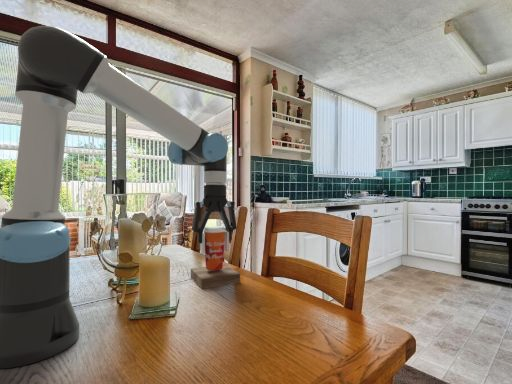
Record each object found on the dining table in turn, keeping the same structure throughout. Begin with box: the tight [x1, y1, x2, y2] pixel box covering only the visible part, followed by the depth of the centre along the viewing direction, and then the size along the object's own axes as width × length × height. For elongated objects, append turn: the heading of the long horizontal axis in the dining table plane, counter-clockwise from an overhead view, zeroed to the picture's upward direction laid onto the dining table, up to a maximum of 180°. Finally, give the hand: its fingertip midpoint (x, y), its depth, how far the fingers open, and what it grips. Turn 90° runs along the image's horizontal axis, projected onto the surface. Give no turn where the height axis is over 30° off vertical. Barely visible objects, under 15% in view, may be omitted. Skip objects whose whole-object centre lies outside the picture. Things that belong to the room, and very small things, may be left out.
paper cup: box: [203, 225, 227, 271], centre depth 96 cm, size 8×8×14 cm
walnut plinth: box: [190, 264, 241, 289], centre depth 96 cm, size 13×13×3 cm
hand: (214, 251), depth 96 cm, fingers closed on paper cup, 8 cm apart
